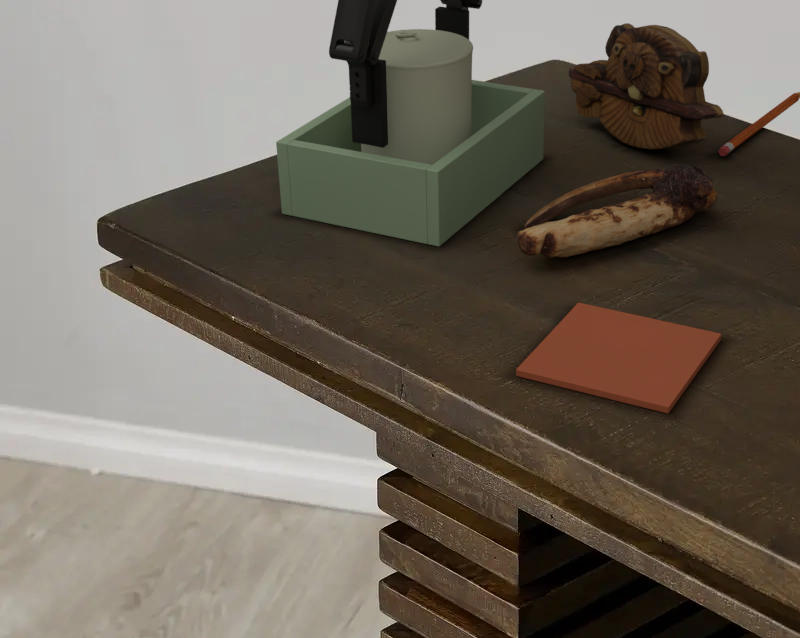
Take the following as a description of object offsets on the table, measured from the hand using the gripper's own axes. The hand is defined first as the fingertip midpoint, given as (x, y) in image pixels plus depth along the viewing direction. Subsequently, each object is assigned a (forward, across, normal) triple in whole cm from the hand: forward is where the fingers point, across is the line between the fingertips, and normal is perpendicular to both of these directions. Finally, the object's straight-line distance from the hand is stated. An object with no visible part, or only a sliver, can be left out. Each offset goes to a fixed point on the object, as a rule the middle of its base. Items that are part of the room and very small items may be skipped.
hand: (413, 114), depth 110 cm
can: (+6, 0, 0) cm, 6 cm away
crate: (+6, 0, 0) cm, 6 cm away
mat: (+6, +19, +25) cm, 32 cm away
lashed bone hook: (+6, +2, +17) cm, 19 cm away
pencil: (+6, -25, +22) cm, 34 cm away
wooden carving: (+6, -16, +13) cm, 22 cm away
